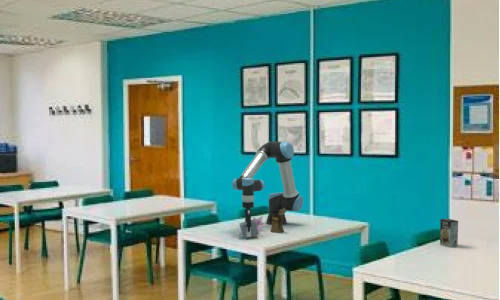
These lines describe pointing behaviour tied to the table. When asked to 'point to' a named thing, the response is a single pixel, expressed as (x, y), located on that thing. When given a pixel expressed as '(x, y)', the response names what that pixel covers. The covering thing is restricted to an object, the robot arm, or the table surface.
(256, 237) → the tape square
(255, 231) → the matte grey cube
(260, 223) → the lily
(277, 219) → the wooden mug
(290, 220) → the table surface
